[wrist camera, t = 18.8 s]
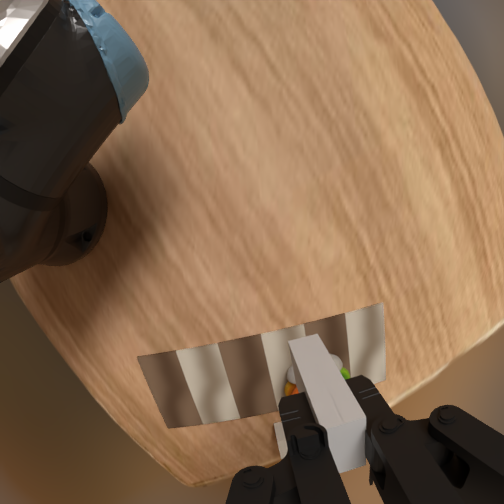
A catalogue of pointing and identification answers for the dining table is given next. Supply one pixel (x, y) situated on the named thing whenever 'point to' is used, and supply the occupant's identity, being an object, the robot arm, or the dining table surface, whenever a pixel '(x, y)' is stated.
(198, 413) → the striped mat
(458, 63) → the dining table surface
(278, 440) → the cube
